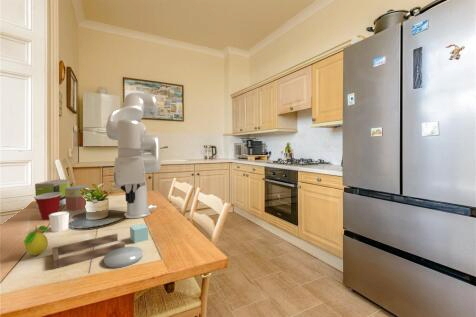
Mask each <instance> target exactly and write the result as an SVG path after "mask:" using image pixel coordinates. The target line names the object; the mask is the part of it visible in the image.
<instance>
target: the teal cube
mask: <svg viewBox="0 0 476 317" xmlns="http://www.w3.org/2000/svg"><path fill="white" fill-rule="evenodd" d="M129 238H130V241H132V242H133V244H137V243H141V242H145V241H148V240H149V227H148V226H147V225H146V224H144V223H140V224H137V225H131V226H129Z"/></svg>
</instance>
